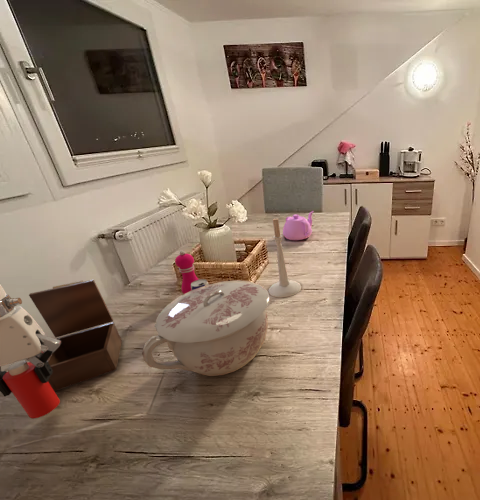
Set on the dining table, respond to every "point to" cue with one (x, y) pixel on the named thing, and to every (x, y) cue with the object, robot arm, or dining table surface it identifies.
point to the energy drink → (198, 284)
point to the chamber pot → (212, 328)
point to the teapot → (298, 227)
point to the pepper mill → (186, 270)
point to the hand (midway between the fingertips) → (28, 383)
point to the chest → (84, 356)
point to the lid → (72, 307)
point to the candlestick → (282, 270)
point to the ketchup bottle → (30, 389)
